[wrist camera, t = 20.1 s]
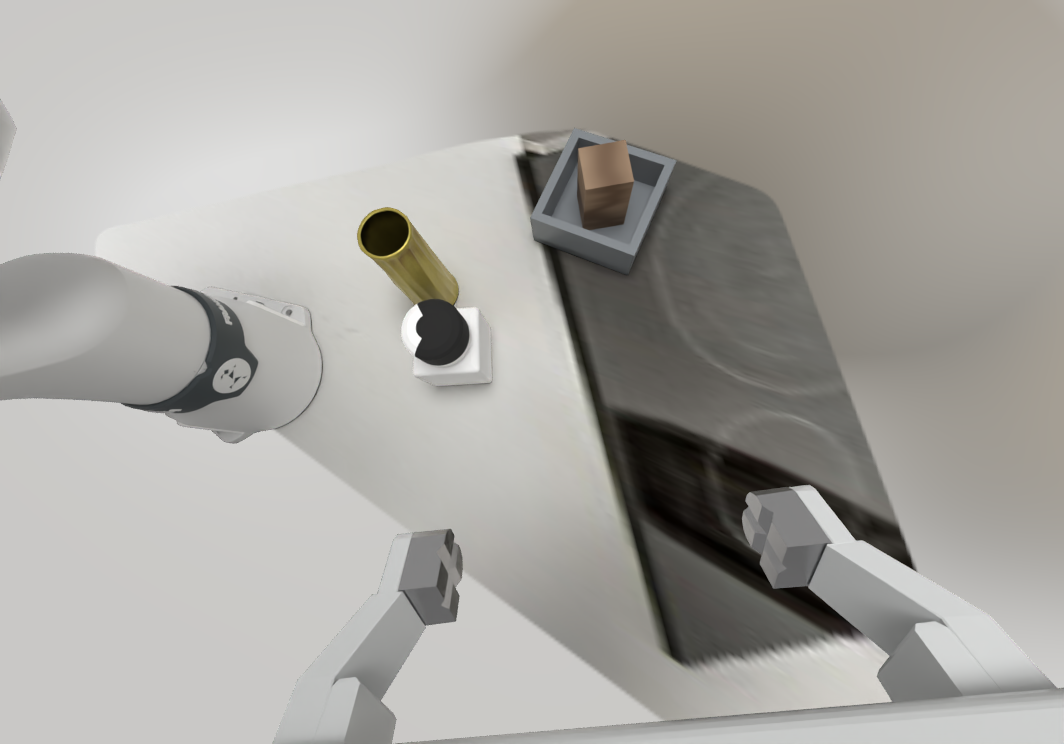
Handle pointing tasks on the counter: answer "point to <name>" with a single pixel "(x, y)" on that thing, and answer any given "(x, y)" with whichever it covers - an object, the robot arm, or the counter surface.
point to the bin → (561, 215)
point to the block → (604, 184)
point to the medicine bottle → (448, 343)
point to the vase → (405, 256)
